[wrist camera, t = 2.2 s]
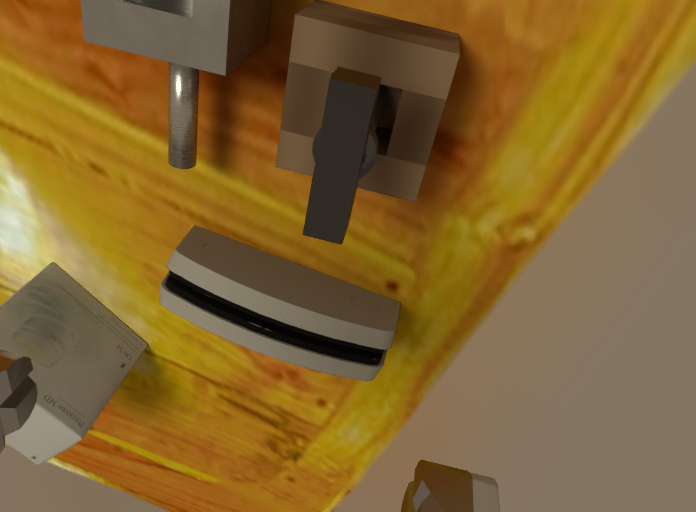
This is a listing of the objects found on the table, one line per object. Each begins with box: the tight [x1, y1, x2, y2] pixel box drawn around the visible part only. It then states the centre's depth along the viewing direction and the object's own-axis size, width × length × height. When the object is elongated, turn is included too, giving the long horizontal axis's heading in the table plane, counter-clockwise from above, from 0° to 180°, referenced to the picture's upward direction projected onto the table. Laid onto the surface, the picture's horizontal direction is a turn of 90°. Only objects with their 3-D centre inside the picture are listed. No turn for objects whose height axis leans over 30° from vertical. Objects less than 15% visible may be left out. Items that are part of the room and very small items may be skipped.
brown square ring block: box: [276, 0, 460, 202], centre depth 29 cm, size 8×8×5 cm
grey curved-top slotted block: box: [159, 225, 401, 381], centre depth 37 cm, size 17×5×10 cm, turn 71°
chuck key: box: [303, 66, 387, 245], centre depth 26 cm, size 3×7×11 cm, turn 169°
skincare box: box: [0, 262, 147, 465], centre depth 42 cm, size 10×6×10 cm, turn 39°
